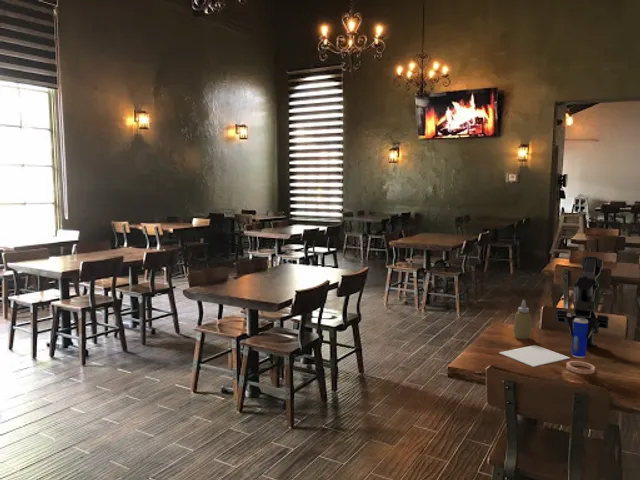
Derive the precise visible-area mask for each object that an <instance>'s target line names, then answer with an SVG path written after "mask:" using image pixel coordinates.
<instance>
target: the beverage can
mask: <svg viewBox="0 0 640 480" xmlns="http://www.w3.org/2000/svg"><path fill="white" fill-rule="evenodd" d="M587 333H588V320H587V319H585V318H575V319H574V320H573V336H572V337H571V338H572V341H571V352H570V355H571V356H572V357H574V358H577V359H584V358H586V356H587V348H588V347H587Z"/></svg>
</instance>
